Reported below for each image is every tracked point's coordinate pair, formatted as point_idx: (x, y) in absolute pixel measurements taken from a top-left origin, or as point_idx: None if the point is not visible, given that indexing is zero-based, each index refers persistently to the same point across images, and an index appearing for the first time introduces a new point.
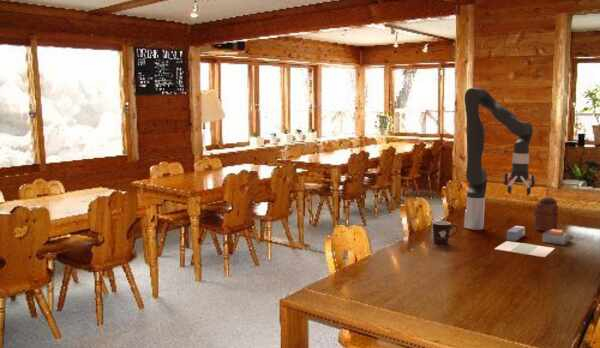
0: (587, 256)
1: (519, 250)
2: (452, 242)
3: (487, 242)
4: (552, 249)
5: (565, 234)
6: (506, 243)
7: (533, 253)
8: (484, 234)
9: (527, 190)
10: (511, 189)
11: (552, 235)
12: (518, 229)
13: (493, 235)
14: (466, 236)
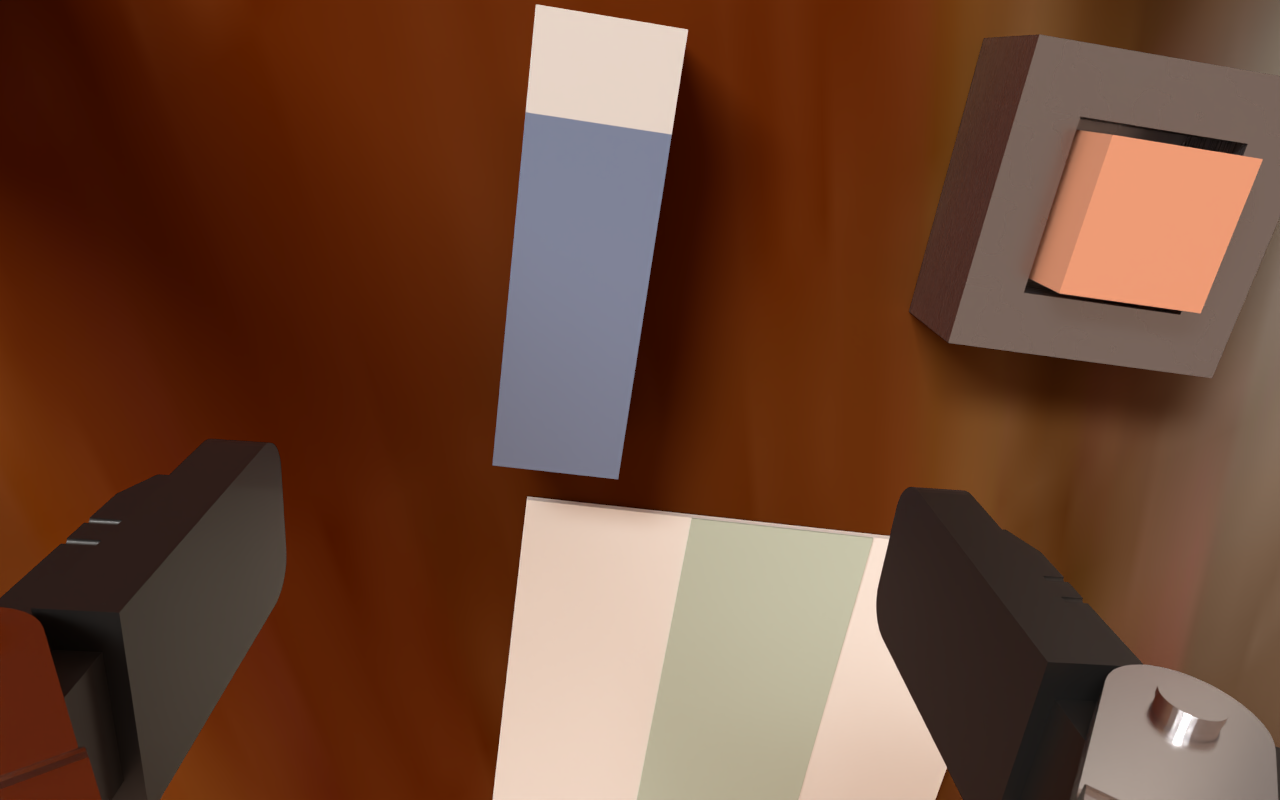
0: (1274, 667)
1: (706, 783)
2: None
3: (355, 624)
4: None
5: (1249, 227)
6: (548, 605)
7: None
8: (178, 264)
9: (963, 759)
10: (206, 511)
11: (1065, 356)
12: (621, 289)
13: (300, 263)
14: (41, 481)
